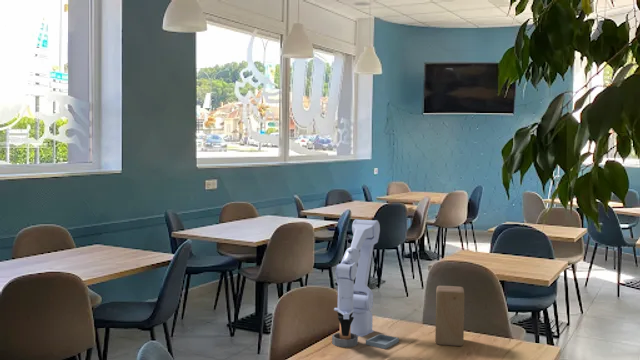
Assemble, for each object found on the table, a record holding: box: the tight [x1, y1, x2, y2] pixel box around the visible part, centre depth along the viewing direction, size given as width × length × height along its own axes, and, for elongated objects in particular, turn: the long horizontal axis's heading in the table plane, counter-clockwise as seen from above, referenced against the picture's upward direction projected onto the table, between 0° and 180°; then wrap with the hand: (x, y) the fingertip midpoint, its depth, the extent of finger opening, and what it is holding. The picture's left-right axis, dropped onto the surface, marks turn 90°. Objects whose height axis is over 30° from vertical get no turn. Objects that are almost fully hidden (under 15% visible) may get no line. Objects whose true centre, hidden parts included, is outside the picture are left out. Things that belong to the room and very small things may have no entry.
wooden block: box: [434, 285, 465, 347], centre depth 226 cm, size 10×10×20 cm
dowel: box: [339, 323, 351, 340], centre depth 222 cm, size 4×4×8 cm
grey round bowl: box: [331, 332, 359, 348], centre depth 222 cm, size 9×9×3 cm
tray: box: [365, 333, 400, 350], centre depth 222 cm, size 10×8×2 cm
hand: (345, 333), depth 222 cm, fingers closed on dowel, 4 cm apart
